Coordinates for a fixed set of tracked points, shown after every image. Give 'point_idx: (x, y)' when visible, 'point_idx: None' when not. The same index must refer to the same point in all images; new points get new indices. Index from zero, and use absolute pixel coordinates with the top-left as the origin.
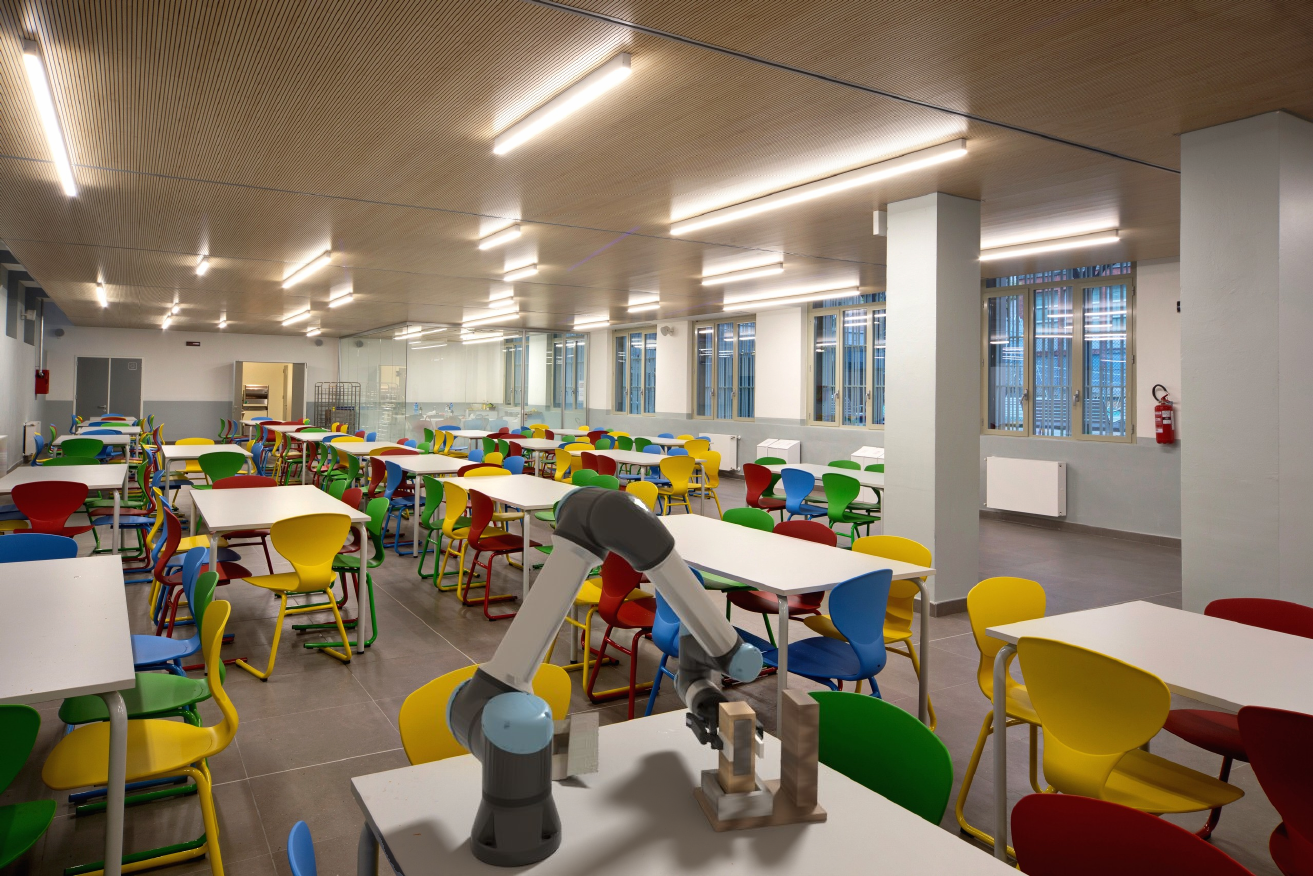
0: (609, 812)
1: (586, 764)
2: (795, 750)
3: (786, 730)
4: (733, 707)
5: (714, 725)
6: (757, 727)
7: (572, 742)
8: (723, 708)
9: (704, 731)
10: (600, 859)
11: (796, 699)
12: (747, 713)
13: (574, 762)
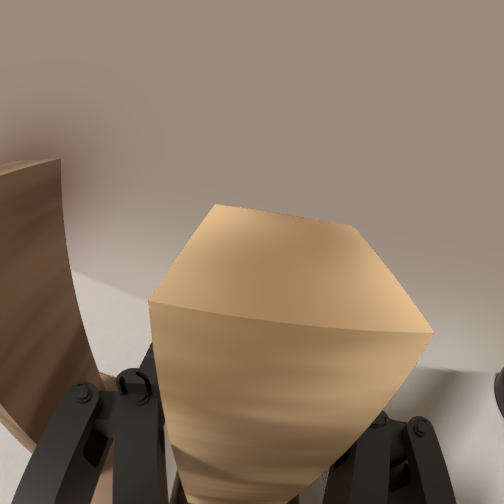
0: (473, 475)
1: None
2: (70, 324)
3: (14, 346)
4: (318, 258)
5: (364, 490)
6: (99, 404)
7: None
8: (388, 271)
9: (418, 419)
10: (454, 378)
11: (13, 168)
12: (258, 210)
13: None
